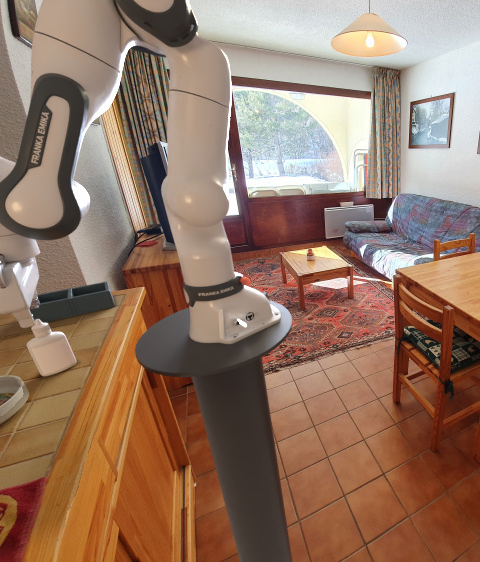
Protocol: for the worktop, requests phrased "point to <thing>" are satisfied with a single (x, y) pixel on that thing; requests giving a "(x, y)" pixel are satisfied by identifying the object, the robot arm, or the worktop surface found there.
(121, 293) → the worktop surface
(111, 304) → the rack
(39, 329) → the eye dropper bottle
